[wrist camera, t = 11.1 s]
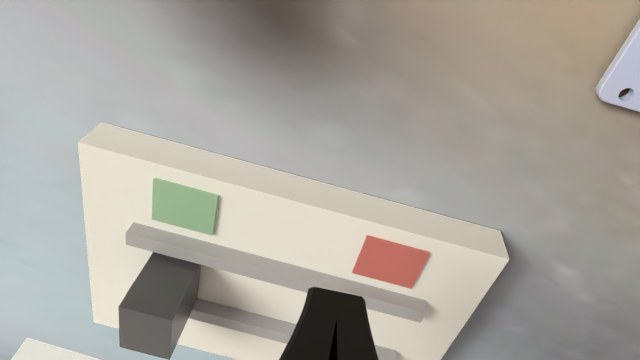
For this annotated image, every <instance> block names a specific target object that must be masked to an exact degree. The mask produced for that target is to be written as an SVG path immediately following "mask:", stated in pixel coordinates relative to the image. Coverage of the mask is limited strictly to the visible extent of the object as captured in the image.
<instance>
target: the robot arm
mask: <svg viewBox="0 0 640 360" xmlns="http://www.w3.org/2000/svg"><path fill="white" fill-rule="evenodd" d="M626 88H629V92H628V93H627V94H626V95H625V96H622V97H618V96H619V93H620V92H621V91H622V90H623V89H626ZM596 94H597V96H598V97H599V98H600V99H601V100H602V101H604V102H606V103H610V104H613V105H617V106H620V107H624V108H627V109H631V110H634V111H638V112H640V19H639V21H638V22H637V24H636V25H635V27H634V28H633V30H632V31H631V33H630V35H629V36H628V38H627V39H626V41H625V42H624V44H623V45H622V47H621V49H620V50H619V52H618V53H617V55H616V56H615V58H614V60H613V61H612V63H611V64H610V66H609V67H608V69H607V70H606V72H605V74H604V75H603V77H602V78H601V80H600V81H599V83H598V85H597V87H596ZM279 360H379V359H378V356H377V352H376V349H375V345H374V341H373V337H372V333H371V329H370V324H369V320H368V315H367V309H366V303H365V300H364V298H363V297H362V296H357V295H352V294H347V293H343V292H338V291H333V290H328V289H323V288H318V287H311V288H309V289H308V292H307V296H306V301H305V304H304V307H303V310H302V313H301V315H300V318H299V320H298V322H297V325H296V327H295V329H294V331H293V334H292V336H291V338H290V340H289V342H288V343H287V345H286V347H285V349H284V351H283V353H282V355H281V357H280V359H279Z"/></svg>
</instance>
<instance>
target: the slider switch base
mask: <svg viewBox="0 0 640 360" xmlns="http://www.w3.org/2000/svg"><path fill="white" fill-rule="evenodd" d="M78 150H79V162H80V173H81V184H82V196H83V207H84V218H85V230H86V241H87V252H88V263H89V275H90V286H91V297H92V309H93V320H94V322H95V323H99V324H103V325H106V326H110V327H114V328H118V329H119V309H118V307H119V305H120V303H121V302H122V300H123V299H124V297H125V296H126V294H127V292H128V291H129V289H130V288H131V286H132V285H133V283H134V281H135V280H136V278H137V277H138V275H139V274H140V272H141V270H142V269H143V267H144V266H145V264H146V262H147V261H148V259H149V258H150V256H151V255H152V253H153V252H155V253H159V254H163V255H167V256H170V257H174V258H178V259H182V260H186V261H189V262H193V263H197V264H201V271H200V280H199V288H198V296H197V301H196V303H195V305H194V307H193V309H192V312H191V314H190V316H189V318H188V320H187V323H186V325H185V327H184V329H183V331H182V333H181V336H180V338H179V340H178V342H177V344H180V345H184V346H187V347H191V348H195V349H199V350H203V351H207V352H211V353H214V354H218V355H222V356H226V357H230V358H234V359H237V360H279V359H280V357H281V355H282V353H283V351H284V349H285V347H286V345H287V343H288V342H289V340H290V338H291V336H292V334H293V331H294V329H295V327H296V325H297V322H298V320H299V318H300V315H301V313H302V310H303V307H304V304H305V301H306V296H307V292H308V289H309V288H311V287H318V288H323V289H328V290H333V291H338V292H343V293H347V294H352V295H357V296H362V297H363V298H364V300H365V303H366V309H367V315H368V320H369V324H370V329H371V333H372V337H373V341H374V345H375V349H376V352H377V356H378V359H379V360H441V358H442V357H443V355H444V354H445V352H446V351H447V350H448V348H449V347H450V345H451V344H452V342H453V341H454V339H455V338H456V336H457V335H458V334H459V332H460V331H461V329H462V328H463V326H464V325H465V323H466V322H467V320H468V319H469V318H470V316H471V315H472V313H473V312H474V310H475V309H476V307H477V306H478V304H479V303H480V302H481V300H482V299H483V297H484V296H485V294H486V293H487V291H488V290H489V288H490V287H491V285H492V284H493V283H494V281H495V280H496V278H497V277H498V275H499V274H500V272H501V271H502V269H503V268H504V267H505V265H506V264H507V262H508V261H509V256H508V253H507V250H506V247H505V244H504V241H503V238H502V235H501V231H499V230H495V229H492V228H488V227H484V226H481V225H477V224H473V223H470V222H466V221H462V220H459V219H455V218H451V217H448V216H444V215H440V214H437V213H433V212H429V211H426V210H422V209H418V208H415V207H411V206H407V205H404V204H400V203H396V202H393V201H389V200H385V199H382V198H378V197H374V196H371V195H367V194H363V193H360V192H356V191H353V190H349V189H345V188H342V187H338V186H334V185H331V184H327V183H323V182H320V181H316V180H312V179H309V178H305V177H301V176H298V175H294V174H290V173H287V172H283V171H279V170H276V169H272V168H268V167H265V166H261V165H257V164H254V163H250V162H246V161H243V160H239V159H235V158H232V157H228V156H224V155H221V154H217V153H213V152H210V151H206V150H202V149H199V148H195V147H191V146H188V145H184V144H180V143H177V142H173V141H169V140H166V139H162V138H158V137H155V136H151V135H147V134H144V133H140V132H136V131H133V130H129V129H125V128H122V127H118V126H115V125H111V124H107V123H104V122H101V123H100V124H99V125H98V126H96V127H95V128H94V129H93V130H92V131H91V132H89V133H88V134H87V135H86V136H85V137H83V138H82V139H81V140H80V141H79V142H78Z"/></svg>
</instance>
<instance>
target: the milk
mask: <svg viewBox="0 0 640 360" xmlns="http://www.w3.org/2000/svg"><path fill="white" fill-rule="evenodd" d="M11 360H100V359H97V358H93V357H90V356H87V355H84V354H80V353H77V352H74V351H70V350H67V349H64V348H60V347H57V346H54V345H50V344H47V343H44V342H41V341H37V340H34V339H31V338H26V340H25V341H24V343H23V344H22V345H21V347H20V348H19V349H18V351H17V352H16V354H15V355H14V356H13V358H12V359H11Z"/></svg>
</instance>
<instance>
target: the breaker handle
mask: <svg viewBox="0 0 640 360" xmlns="http://www.w3.org/2000/svg"><path fill="white" fill-rule="evenodd" d="M200 271H201V264H197V263H193V262H189V261H186V260H182V259H178V258H174V257H170V256H167V255H163V254H159V253H155V252H153V253H152V255H151V256H150V258H149V259H148V261H147V262H146V264H145V266H144V267H143V269H142V270H141V272H140V274H139V275H138V277H137V278H136V280H135V281H134V283H133V285H132V286H131V288H130V289H129V291H128V292H127V294H126V296H125V297H124V299H123V300H122V302H121V303H120V305H119V307H118V309H119V337H120V347H122V348H126V349H130V350H134V351H138V352H142V353H145V354H149V355H153V356H157V357H161V358H165V359H169V360H170V358H171V355H172V353H173V351H174V349H175V347H176V344H177V342H178V340H179V338H180V336H181V333H182V331H183V329H184V327H185V325H186V323H187V320H188V318H189V316H190V314H191V312H192V309H193V307H194V305H195V303H196V301H197V296H198V288H199V280H200Z"/></svg>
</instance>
